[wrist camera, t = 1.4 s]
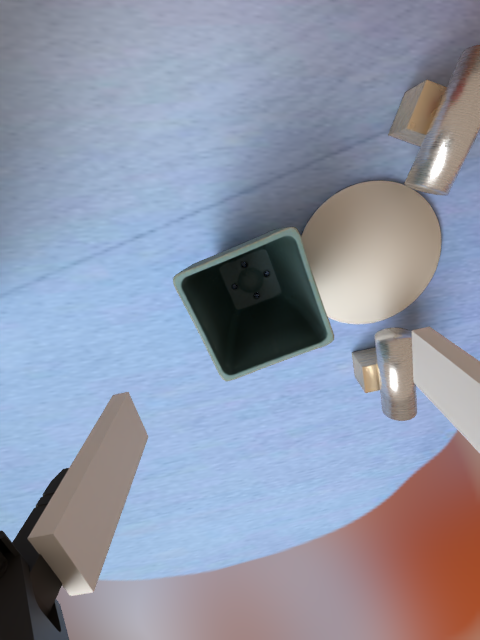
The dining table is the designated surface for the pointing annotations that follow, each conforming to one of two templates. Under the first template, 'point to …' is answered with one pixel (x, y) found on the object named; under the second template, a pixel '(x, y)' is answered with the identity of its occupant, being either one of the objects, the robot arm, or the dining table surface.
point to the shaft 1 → (389, 372)
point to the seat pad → (372, 250)
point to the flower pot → (255, 303)
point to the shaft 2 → (441, 125)
